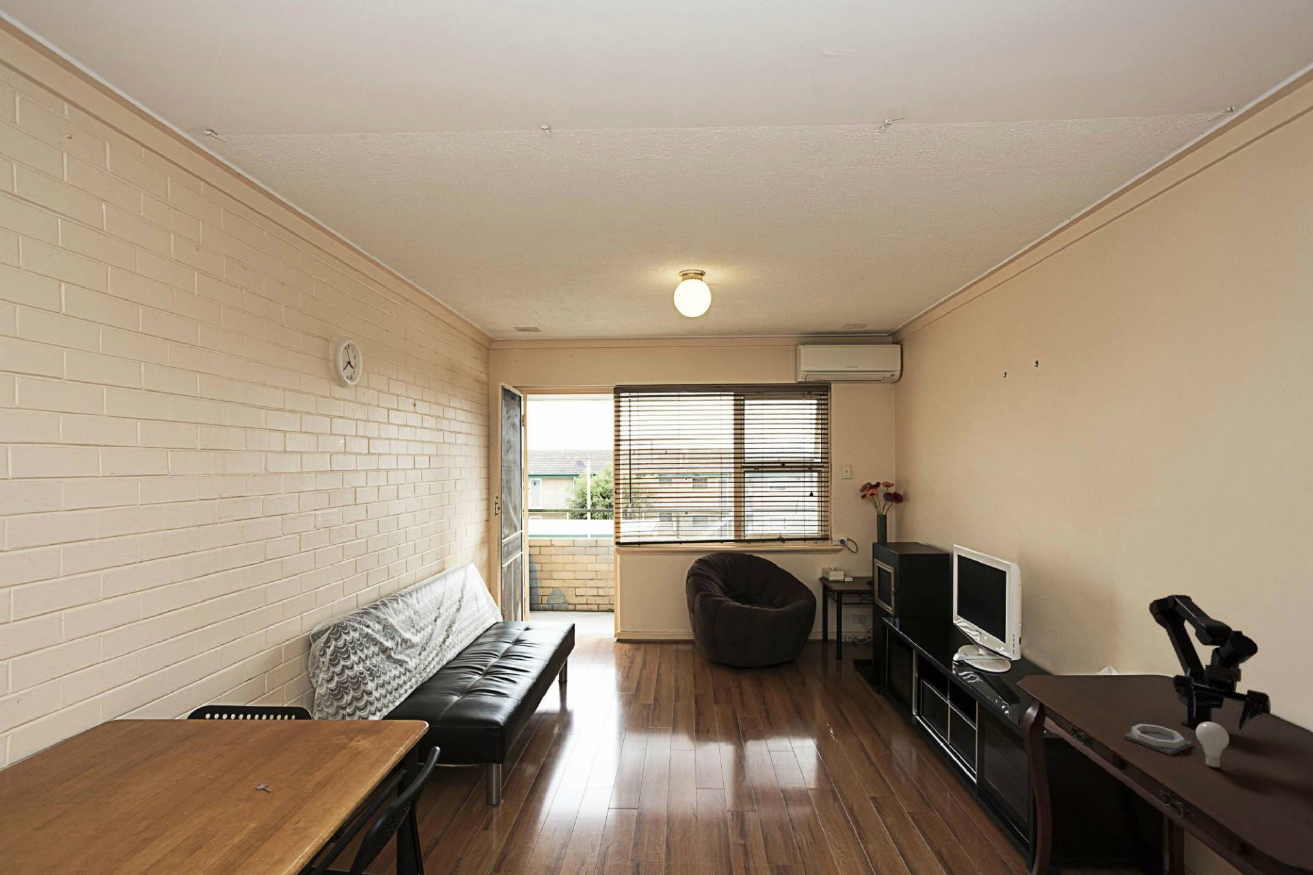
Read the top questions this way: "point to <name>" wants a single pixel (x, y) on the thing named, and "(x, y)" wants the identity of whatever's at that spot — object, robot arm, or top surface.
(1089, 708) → the top surface
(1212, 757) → the lightbulb
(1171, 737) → the bulb stand
